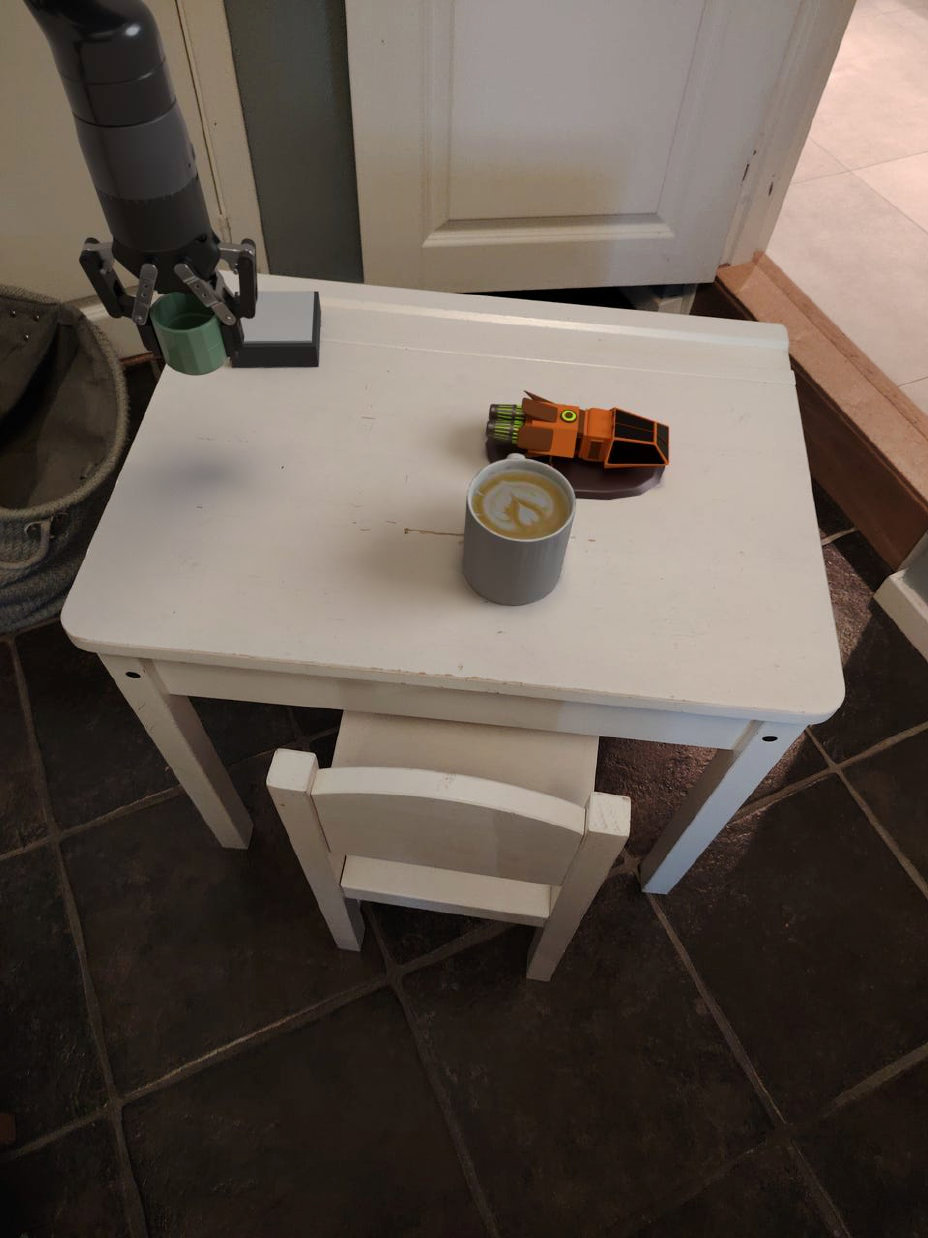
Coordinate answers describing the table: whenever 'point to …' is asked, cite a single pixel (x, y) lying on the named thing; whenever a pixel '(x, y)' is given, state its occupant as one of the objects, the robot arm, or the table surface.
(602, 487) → the toy spacecraft
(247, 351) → the scale
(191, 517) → the table surface
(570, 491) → the coffee mug
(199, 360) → the green cup
